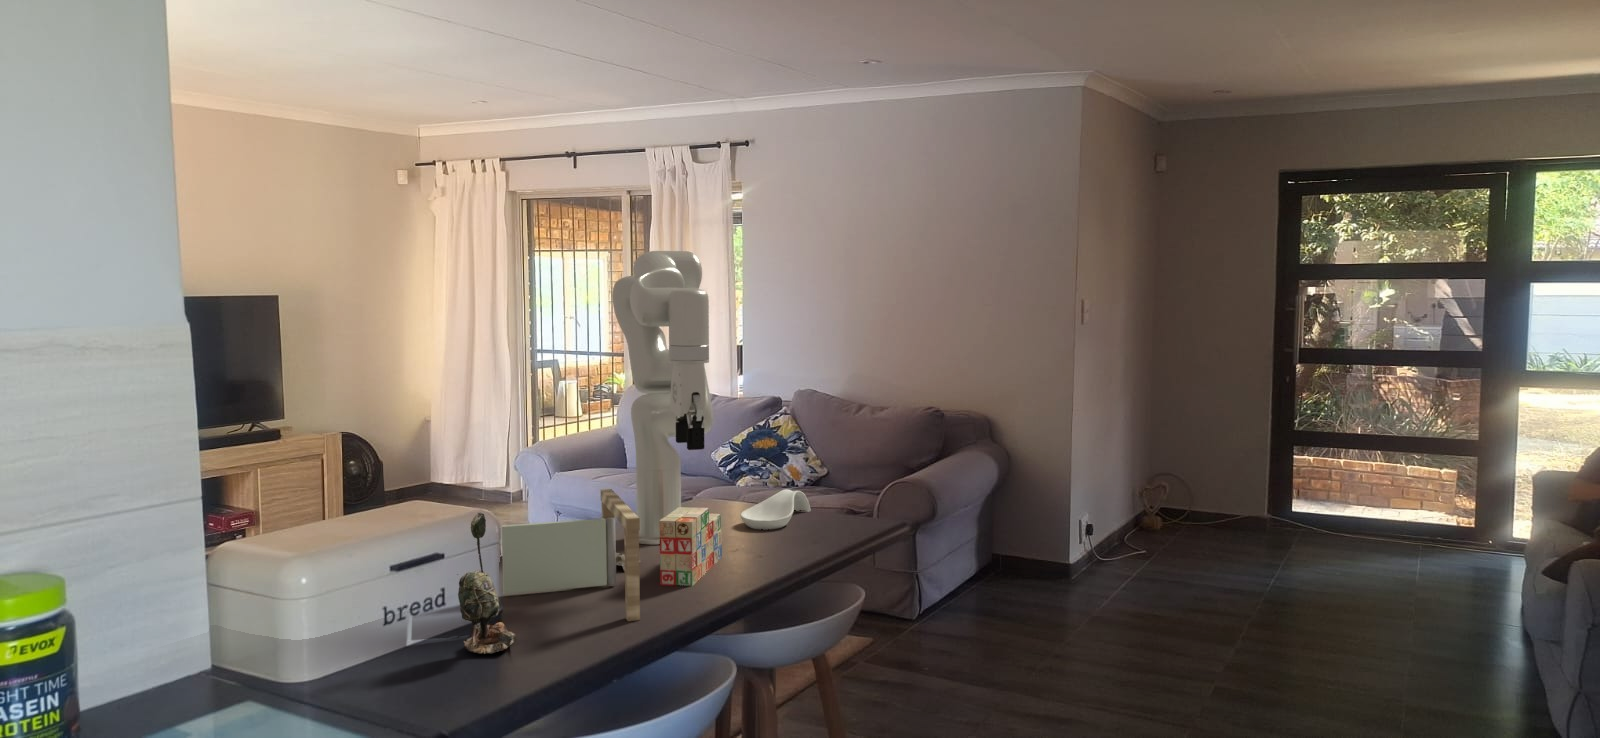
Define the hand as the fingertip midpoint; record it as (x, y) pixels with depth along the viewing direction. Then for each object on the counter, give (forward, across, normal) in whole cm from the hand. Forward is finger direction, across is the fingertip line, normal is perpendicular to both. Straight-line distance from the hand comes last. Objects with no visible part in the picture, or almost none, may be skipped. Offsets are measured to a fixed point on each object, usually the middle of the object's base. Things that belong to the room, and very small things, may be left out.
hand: (689, 445), depth 206 cm
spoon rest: (+25, -36, +29) cm, 53 cm away
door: (+24, +6, -16) cm, 30 cm away
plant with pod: (+24, +33, -39) cm, 57 cm away
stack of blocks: (+25, 0, 0) cm, 25 cm away
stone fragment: (+23, -10, -22) cm, 33 cm away
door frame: (+24, +6, -16) cm, 30 cm away
